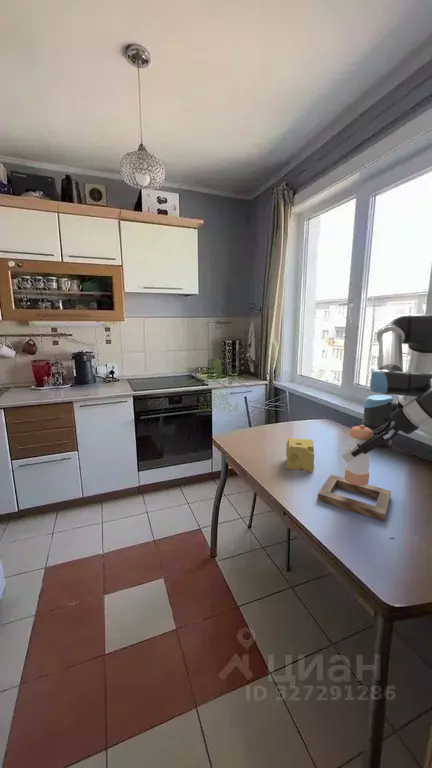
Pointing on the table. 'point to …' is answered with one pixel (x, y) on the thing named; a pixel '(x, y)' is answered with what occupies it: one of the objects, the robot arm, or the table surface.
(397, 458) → the table surface
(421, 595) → the table surface
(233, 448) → the table surface
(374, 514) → the rail frame
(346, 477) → the salt shaker
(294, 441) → the cheese
